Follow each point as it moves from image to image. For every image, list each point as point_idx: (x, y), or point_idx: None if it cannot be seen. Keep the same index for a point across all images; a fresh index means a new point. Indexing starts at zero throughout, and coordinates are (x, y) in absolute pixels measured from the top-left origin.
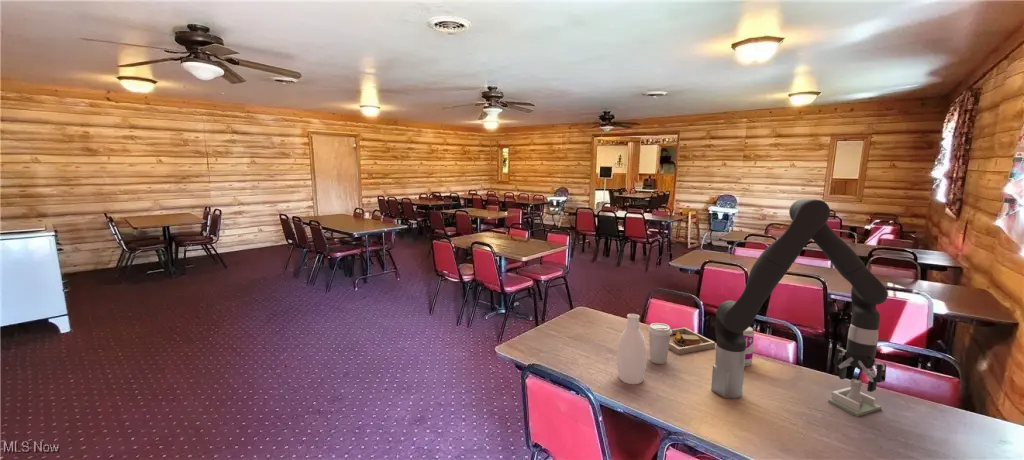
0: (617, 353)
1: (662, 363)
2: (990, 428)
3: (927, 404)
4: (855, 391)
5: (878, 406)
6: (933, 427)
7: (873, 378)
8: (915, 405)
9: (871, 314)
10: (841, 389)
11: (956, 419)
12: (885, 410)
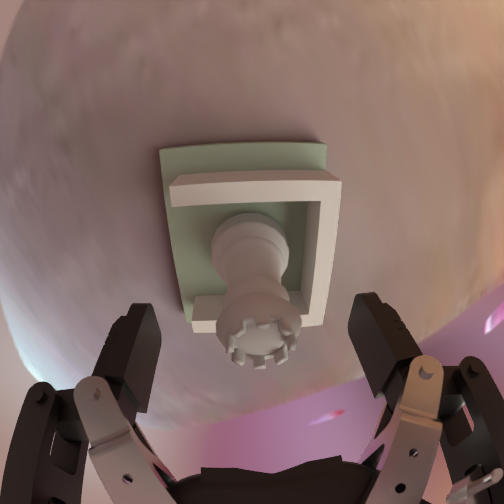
0: None
1: None
2: None
3: (187, 419)
4: (239, 273)
5: (189, 314)
6: (80, 342)
7: (81, 412)
8: (188, 402)
9: None
10: (331, 265)
11: None
12: (178, 320)
